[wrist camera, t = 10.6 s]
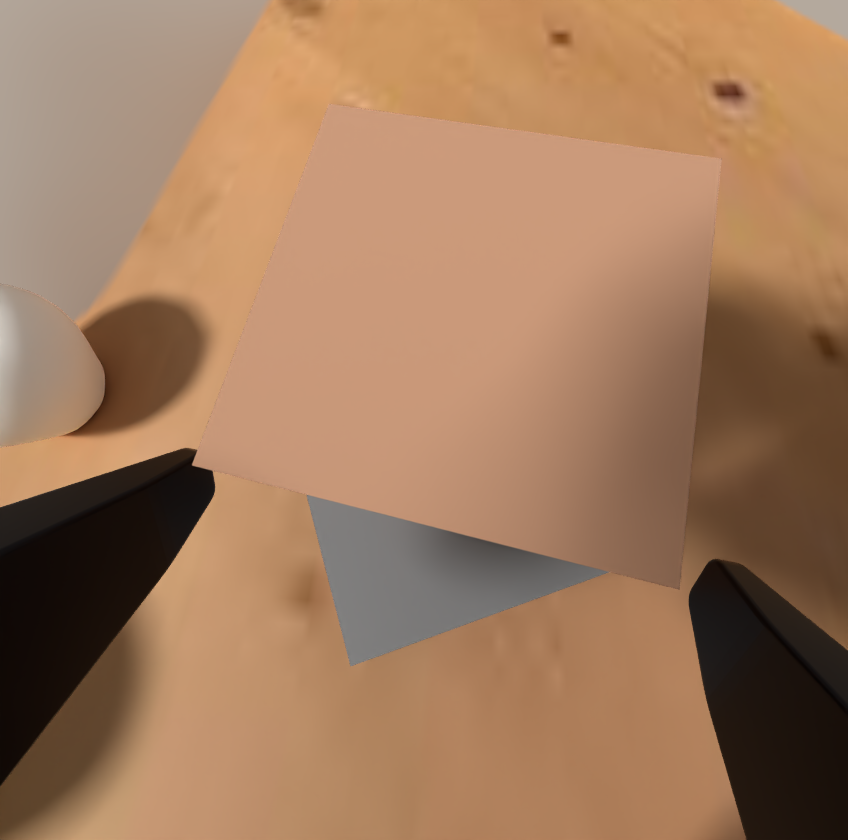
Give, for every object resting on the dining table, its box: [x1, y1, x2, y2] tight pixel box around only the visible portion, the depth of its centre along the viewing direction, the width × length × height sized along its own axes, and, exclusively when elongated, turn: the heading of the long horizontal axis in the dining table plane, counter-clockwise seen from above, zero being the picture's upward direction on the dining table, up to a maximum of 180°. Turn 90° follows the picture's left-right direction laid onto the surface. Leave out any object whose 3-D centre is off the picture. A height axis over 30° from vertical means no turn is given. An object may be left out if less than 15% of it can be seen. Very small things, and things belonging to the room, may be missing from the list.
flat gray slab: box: [307, 495, 608, 666], centre depth 18 cm, size 12×12×3 cm
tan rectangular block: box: [192, 104, 722, 590], centre depth 11 cm, size 6×6×12 cm
